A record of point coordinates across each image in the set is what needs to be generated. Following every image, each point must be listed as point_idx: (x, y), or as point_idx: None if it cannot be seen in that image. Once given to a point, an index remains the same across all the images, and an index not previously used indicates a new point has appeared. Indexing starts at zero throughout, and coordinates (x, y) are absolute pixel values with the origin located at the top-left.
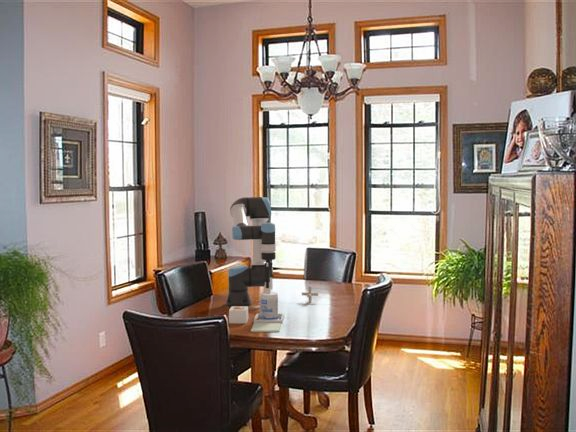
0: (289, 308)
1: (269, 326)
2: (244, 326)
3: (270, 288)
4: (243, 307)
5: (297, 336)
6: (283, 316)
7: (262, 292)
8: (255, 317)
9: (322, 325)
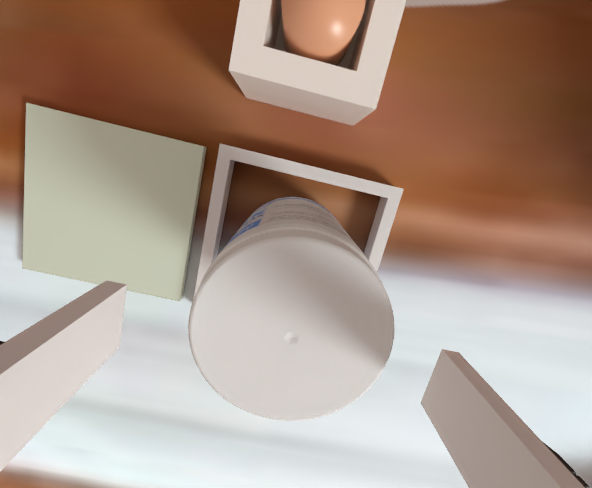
0: (536, 392)
1: (113, 228)
2: (172, 77)
3: (434, 391)
4: (359, 61)
5: None
6: None
7: (364, 269)
8: (291, 166)
9: (148, 469)
